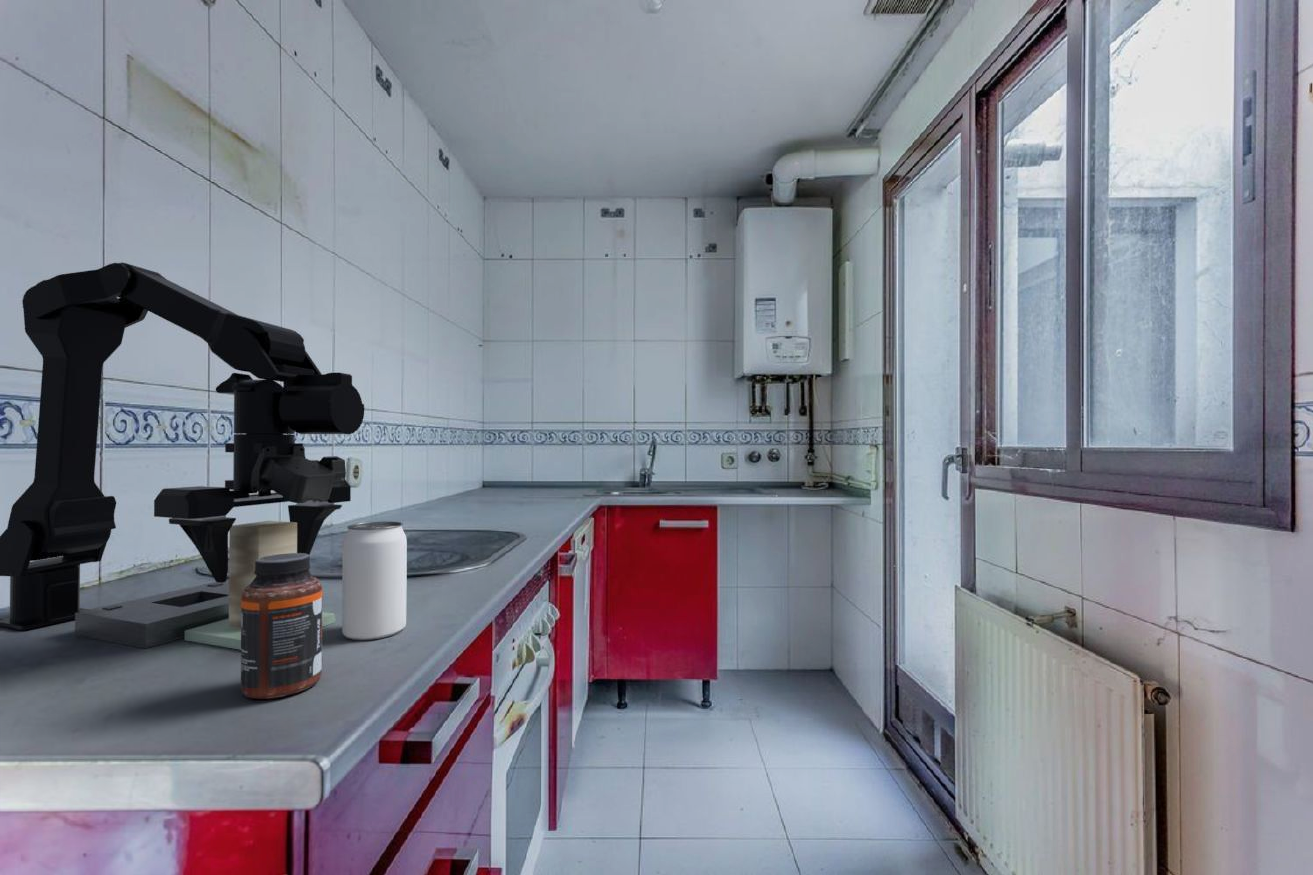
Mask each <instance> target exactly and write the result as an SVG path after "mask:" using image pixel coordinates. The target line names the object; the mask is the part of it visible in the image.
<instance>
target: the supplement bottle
mask: <svg viewBox="0 0 1313 875" xmlns="http://www.w3.org/2000/svg"><path fill="white" fill-rule="evenodd" d="M310 569H311V561H310V555H308V554H305V553H288V554H278V555H271V556H266V557H262V558H259V559H257V560H256V561H255V572H254V574H256V578H255V579H254V580H253V581H252V583H251V584H250V585H248V586H247V587H246V588H245V589H244V591H243V592H242V598H241V650H240V687H241V693H242V694H243V695H244V696H245V697H247V698H251V699H256V700H261V699H262V700H268V699H279V698H284V697H287V696H291V695H294V694H297V693H300V692H304V691H305V690H308V689H309V688H311V687H313V686H314V685H315V684H317V683H318V682H319V681H320V679H321V678H322V676H323V674H322V673H323V627H322V612H323V586H322V583H321V580H320V579H318V577H315V576H312V573H311V572H310Z"/></svg>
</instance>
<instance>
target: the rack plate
mask: <svg viewBox="0 0 1313 875" xmlns="http://www.w3.org/2000/svg"><path fill="white" fill-rule="evenodd" d="M225 619H229V579H227V580H226V582H223V583H220V582H216V581H214V582H210V583H206V584H201V585H196V586H191V587H187V588H182V589H178V590H173V591H168V592H163V593H159V594H154V595H151V596H150V595H149V596H144V597H141V598H135V599H132V600H126V601H121V602H118V603H112V604H107V605H103V606H99V607H94V608H90V609H89V610H84V611H80V612H75V619H74V636H76V637H83V638H89V639H92V640H99V641H104V642H109V643H115V644H120V645H127V646H131V647H137V648H142V649H148V648H152V647H156V646H159V645H162V644H166V643H169V642H173V641H176V640H179V639H183V638H184V639H185V631H186V630H189V629H193V628H196V627H200V626H203V625H207V624H211V623H214V622H218V621H221V620H225Z"/></svg>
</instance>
